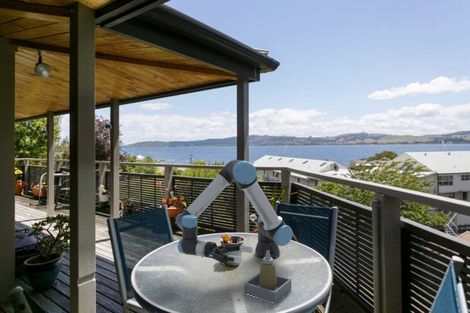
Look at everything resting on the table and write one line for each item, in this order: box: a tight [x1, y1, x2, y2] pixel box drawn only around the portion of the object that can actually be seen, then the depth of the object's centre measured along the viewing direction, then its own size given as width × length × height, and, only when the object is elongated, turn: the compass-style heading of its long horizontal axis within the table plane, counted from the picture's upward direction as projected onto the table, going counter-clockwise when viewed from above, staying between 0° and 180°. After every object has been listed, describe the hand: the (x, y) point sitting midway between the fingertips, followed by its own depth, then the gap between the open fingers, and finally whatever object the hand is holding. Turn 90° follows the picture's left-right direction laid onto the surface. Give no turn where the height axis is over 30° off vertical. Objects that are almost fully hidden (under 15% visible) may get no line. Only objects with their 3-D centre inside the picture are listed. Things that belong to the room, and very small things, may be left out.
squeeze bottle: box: [259, 251, 277, 291], centre depth 140 cm, size 8×8×18 cm
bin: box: [243, 272, 292, 304], centre depth 141 cm, size 16×16×5 cm
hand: (247, 254), depth 144 cm, fingers open, 13 cm apart
